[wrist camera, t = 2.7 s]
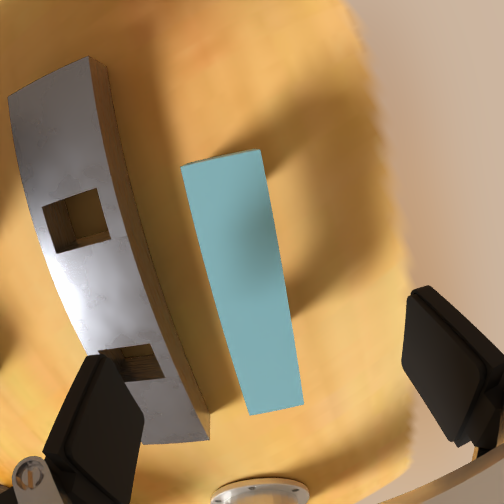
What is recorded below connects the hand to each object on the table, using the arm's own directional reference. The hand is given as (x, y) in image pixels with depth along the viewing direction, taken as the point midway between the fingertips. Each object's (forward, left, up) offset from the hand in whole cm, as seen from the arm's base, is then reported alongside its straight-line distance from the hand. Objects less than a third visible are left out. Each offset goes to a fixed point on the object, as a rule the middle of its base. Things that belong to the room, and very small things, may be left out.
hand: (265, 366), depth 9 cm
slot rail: (-1, +9, -12) cm, 15 cm away
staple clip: (-1, 0, -12) cm, 12 cm away
